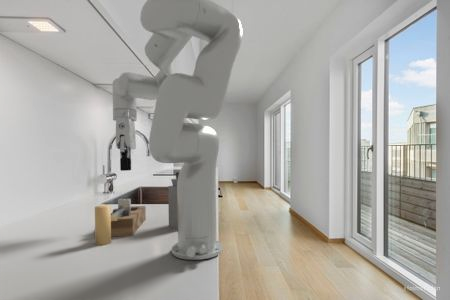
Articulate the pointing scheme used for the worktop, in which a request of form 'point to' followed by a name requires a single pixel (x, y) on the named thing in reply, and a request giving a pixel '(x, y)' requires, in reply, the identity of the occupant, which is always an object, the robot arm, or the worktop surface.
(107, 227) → the peg
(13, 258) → the worktop surface
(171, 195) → the perfume bottle
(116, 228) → the socket block
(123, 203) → the lock pin
